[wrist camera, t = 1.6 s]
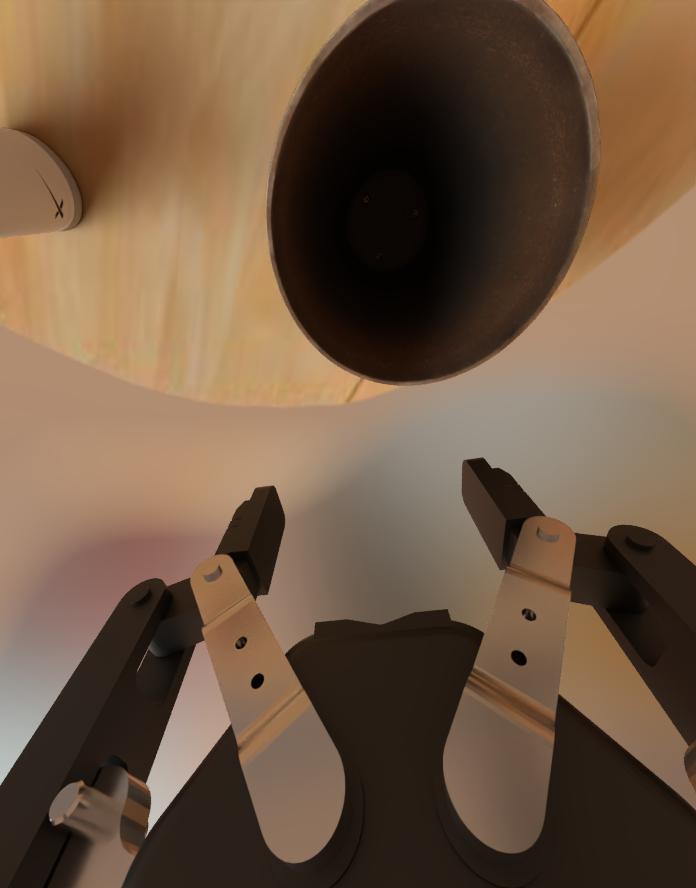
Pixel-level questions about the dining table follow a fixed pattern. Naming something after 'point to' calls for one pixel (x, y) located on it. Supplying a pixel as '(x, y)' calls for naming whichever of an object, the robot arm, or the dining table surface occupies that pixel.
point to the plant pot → (432, 183)
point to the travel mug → (34, 188)
